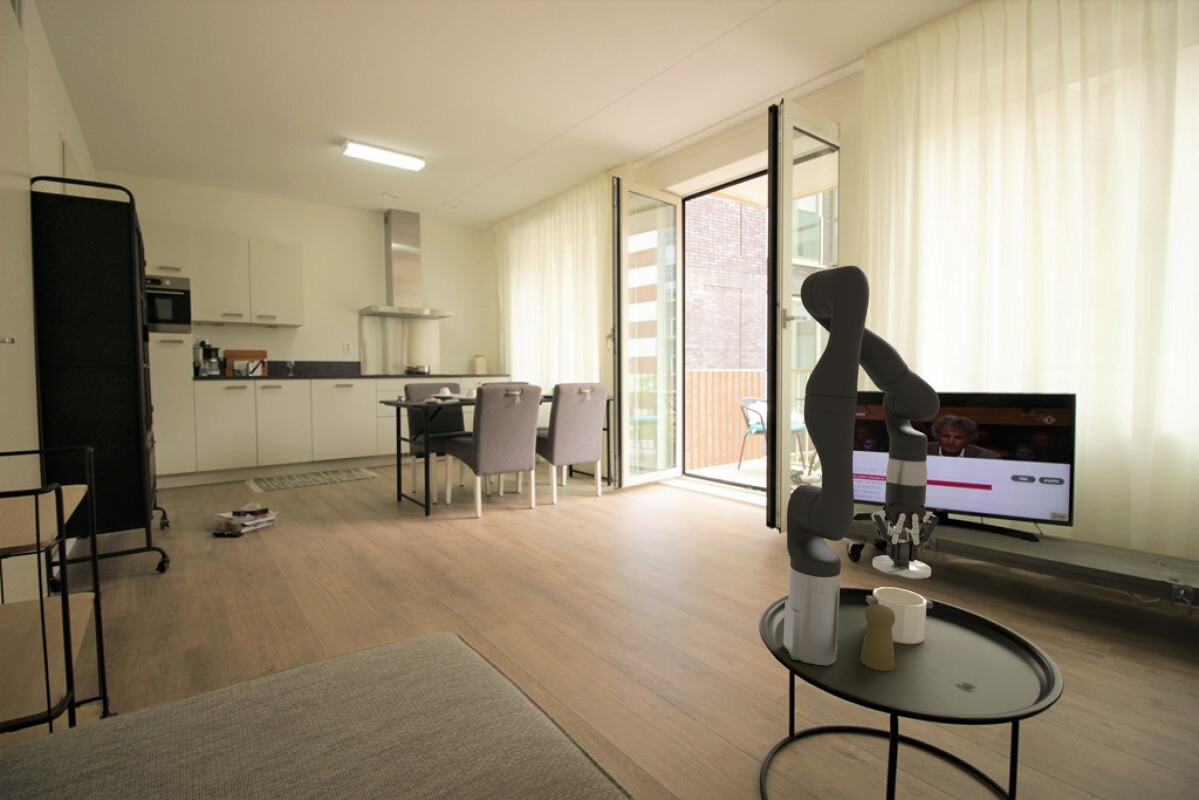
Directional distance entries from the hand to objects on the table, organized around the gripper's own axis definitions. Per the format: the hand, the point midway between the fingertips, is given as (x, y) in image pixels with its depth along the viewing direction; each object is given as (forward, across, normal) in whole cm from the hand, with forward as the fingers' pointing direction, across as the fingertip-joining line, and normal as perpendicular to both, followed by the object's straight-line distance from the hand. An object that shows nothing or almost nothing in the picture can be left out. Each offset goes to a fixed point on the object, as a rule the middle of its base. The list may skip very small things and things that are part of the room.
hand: (901, 559), depth 118 cm
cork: (+16, +10, +13) cm, 23 cm away
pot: (+16, 0, 0) cm, 16 cm away
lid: (+2, 0, 0) cm, 2 cm away
